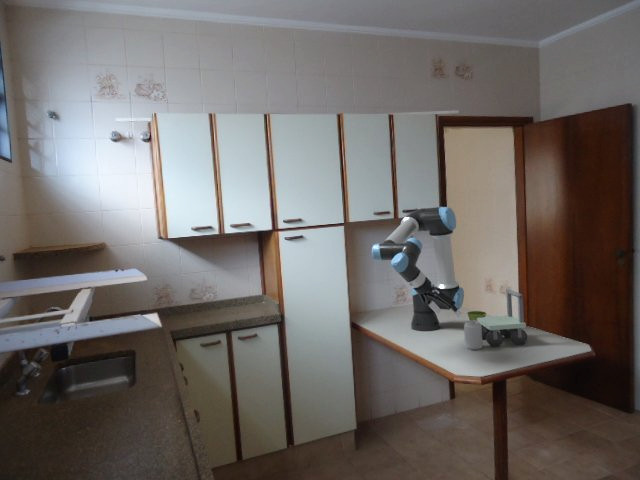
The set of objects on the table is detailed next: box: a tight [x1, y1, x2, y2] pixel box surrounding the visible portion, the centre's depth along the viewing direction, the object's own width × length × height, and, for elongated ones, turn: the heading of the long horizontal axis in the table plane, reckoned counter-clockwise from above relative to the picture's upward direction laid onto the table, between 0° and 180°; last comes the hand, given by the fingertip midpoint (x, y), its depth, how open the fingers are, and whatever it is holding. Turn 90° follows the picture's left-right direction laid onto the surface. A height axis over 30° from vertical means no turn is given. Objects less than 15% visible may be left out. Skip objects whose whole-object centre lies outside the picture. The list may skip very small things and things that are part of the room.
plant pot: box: [466, 310, 487, 321], centre depth 235 cm, size 9×9×9 cm
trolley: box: [477, 288, 528, 348], centre depth 212 cm, size 16×18×23 cm
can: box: [463, 320, 483, 351], centre depth 206 cm, size 8×8×12 cm
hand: (449, 313), depth 203 cm, fingers open, 13 cm apart
